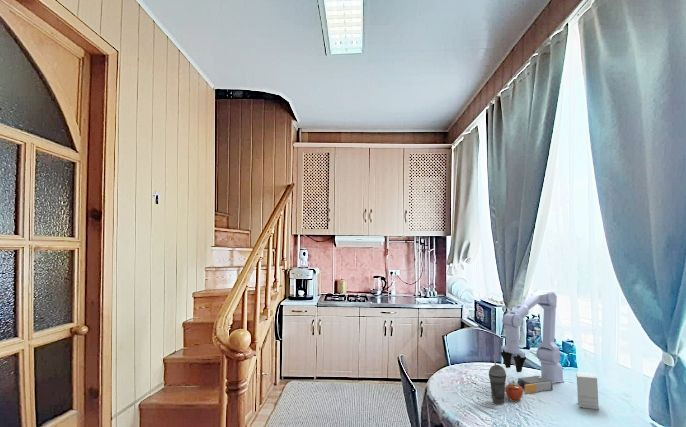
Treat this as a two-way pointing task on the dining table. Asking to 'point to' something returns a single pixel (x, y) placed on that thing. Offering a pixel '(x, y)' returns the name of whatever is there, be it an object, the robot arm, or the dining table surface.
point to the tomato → (514, 391)
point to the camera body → (531, 380)
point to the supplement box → (587, 390)
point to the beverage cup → (497, 383)
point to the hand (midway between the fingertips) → (513, 369)
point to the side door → (538, 387)
